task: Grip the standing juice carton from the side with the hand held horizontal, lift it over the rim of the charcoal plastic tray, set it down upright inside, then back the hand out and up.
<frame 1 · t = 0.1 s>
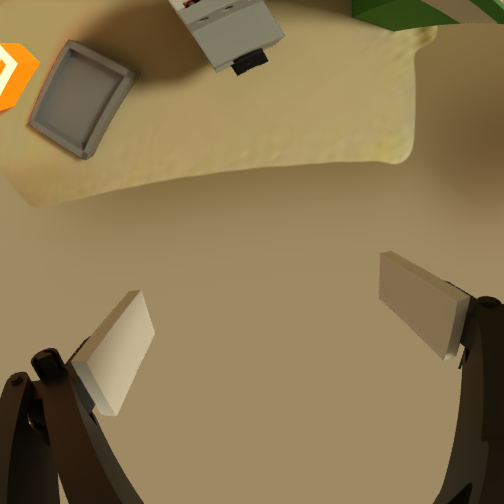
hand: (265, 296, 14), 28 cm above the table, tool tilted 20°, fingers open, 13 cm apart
tray: (82, 97, 29), on the table
juice carton: (16, 74, 23), on the table
circuit breaker: (223, 31, 27), on the table
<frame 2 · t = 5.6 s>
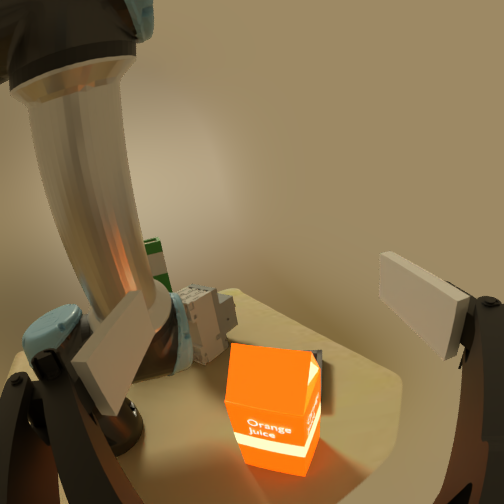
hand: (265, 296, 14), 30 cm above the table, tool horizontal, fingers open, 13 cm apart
green box: (150, 323, 77), on the table
juice carton: (283, 451, 31), on the table
circuit breaker: (214, 345, 62), on the table
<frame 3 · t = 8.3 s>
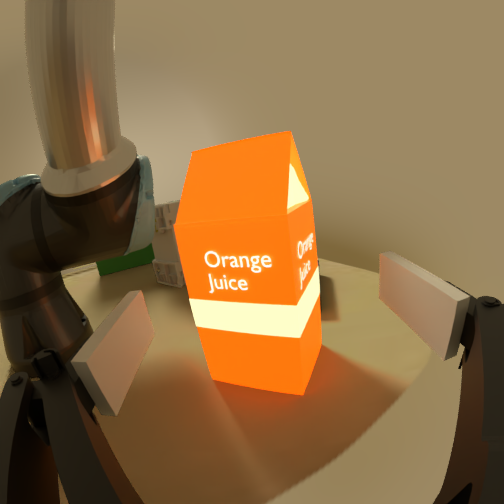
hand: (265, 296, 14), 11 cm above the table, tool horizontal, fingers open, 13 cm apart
green box: (130, 265, 70), on the table
juice carton: (269, 364, 25), on the table
circuit breaker: (194, 273, 56), on the table
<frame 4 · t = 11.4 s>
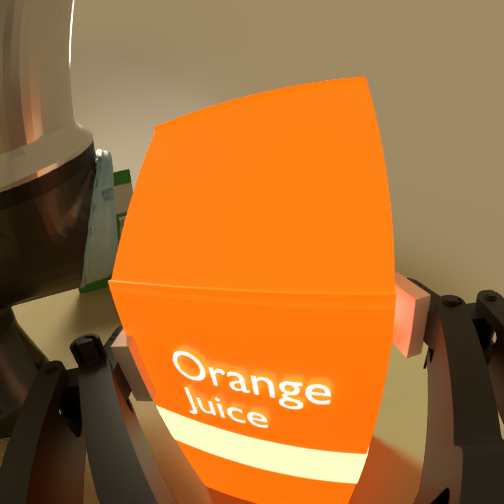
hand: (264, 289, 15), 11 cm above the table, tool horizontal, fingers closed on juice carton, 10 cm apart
green box: (115, 280, 59), on the table
juice carton: (290, 463, 14), on the table, touching gripper
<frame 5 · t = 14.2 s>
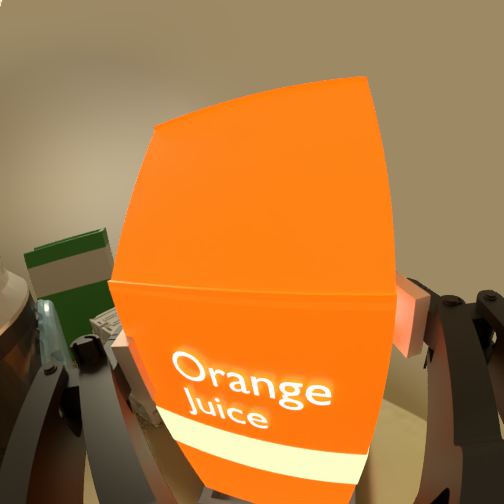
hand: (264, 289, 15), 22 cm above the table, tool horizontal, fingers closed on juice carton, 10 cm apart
green box: (100, 346, 51), on the table
tray: (285, 471, 21), on the table
juice carton: (290, 464, 14), point 11 cm above the table, touching gripper
circuit breaker: (175, 391, 37), on the table
when the fingers open (13 cm above the table, at t = 17.4 s): juice carton drops 1 cm, resting on tray.
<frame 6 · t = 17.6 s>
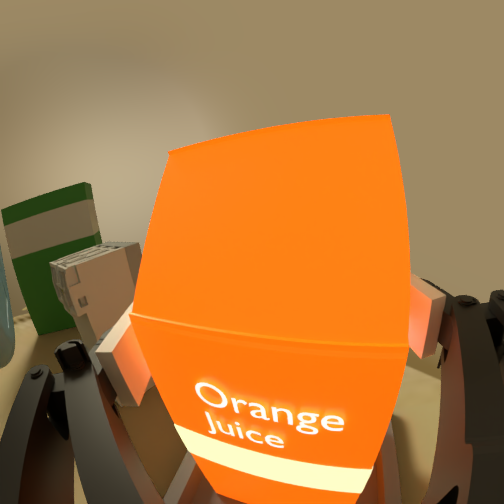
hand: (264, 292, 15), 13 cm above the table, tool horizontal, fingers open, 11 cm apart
green box: (78, 319, 44), on the table
tray: (290, 473, 14), on the table
juice carton: (296, 470, 14), resting on tray, touching gripper
circuit breaker: (152, 364, 30), on the table
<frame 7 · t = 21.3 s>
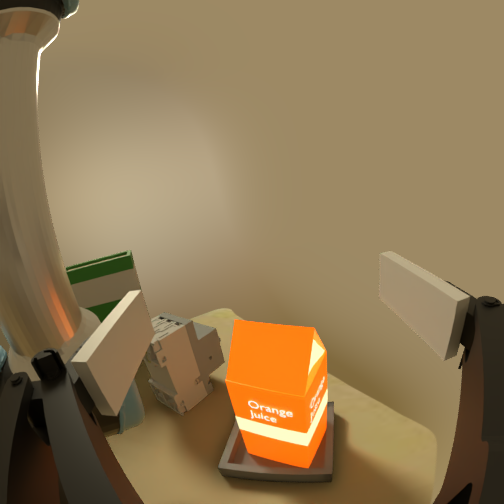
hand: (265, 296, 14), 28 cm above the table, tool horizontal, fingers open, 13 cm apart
green box: (126, 352, 61), on the table
tray: (282, 445, 31), on the table
juice carton: (288, 442, 31), resting on tray
circuit breaker: (196, 387, 47), on the table
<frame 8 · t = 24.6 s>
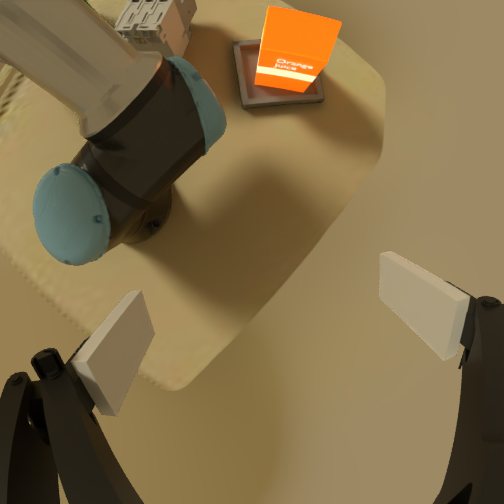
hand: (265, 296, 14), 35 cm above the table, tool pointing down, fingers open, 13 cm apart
tray: (276, 72, 41), on the table
juice carton: (281, 70, 41), resting on tray
circuit breaker: (172, 37, 38), on the table
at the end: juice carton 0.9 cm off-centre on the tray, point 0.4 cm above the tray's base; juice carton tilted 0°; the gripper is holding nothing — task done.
